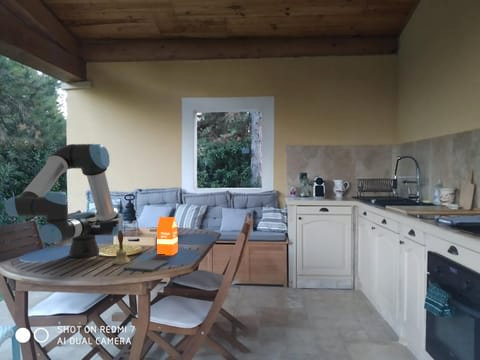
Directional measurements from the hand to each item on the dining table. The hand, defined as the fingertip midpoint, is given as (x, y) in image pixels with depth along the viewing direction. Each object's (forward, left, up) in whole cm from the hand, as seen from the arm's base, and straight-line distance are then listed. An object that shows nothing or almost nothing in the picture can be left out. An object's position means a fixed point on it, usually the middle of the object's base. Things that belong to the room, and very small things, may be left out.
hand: (108, 220), depth 170 cm
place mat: (+16, +7, -22) cm, 28 cm away
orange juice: (+14, +32, -23) cm, 42 cm away
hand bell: (0, +10, -23) cm, 25 cm away
